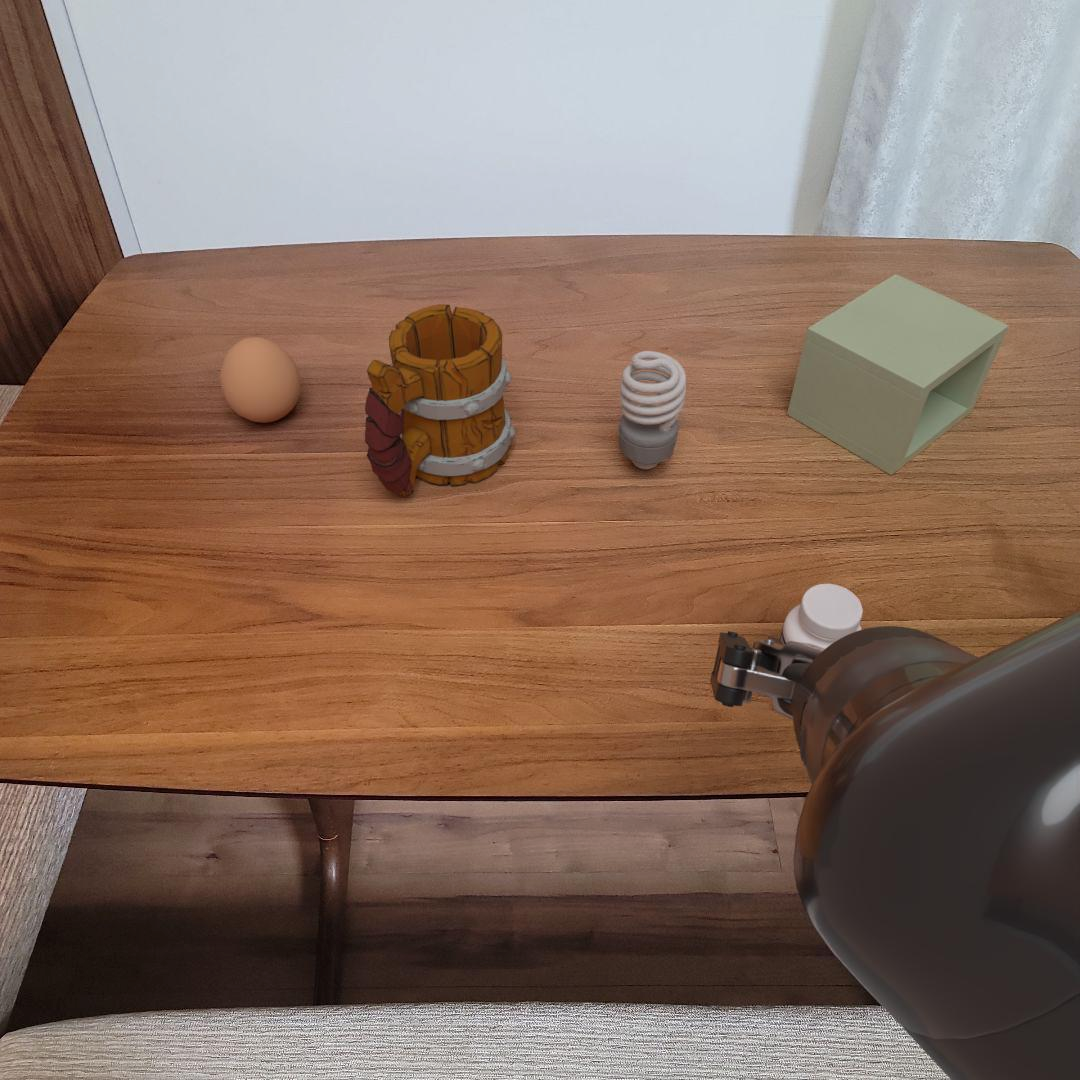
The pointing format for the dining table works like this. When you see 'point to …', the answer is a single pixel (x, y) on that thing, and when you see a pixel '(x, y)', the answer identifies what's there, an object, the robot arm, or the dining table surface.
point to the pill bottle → (823, 616)
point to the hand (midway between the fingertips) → (851, 675)
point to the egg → (260, 380)
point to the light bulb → (650, 408)
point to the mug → (439, 401)
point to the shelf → (893, 371)
